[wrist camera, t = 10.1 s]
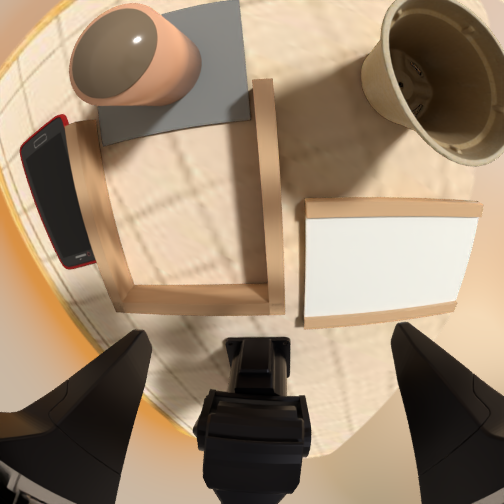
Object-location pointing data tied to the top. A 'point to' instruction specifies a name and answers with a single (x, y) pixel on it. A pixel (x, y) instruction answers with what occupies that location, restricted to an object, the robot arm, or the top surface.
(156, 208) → the top surface
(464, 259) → the wood framed whiteboard
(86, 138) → the wooden u-shaped frame
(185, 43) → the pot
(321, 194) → the top surface
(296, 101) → the top surface
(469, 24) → the flower pot
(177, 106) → the mat
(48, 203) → the cell phone
